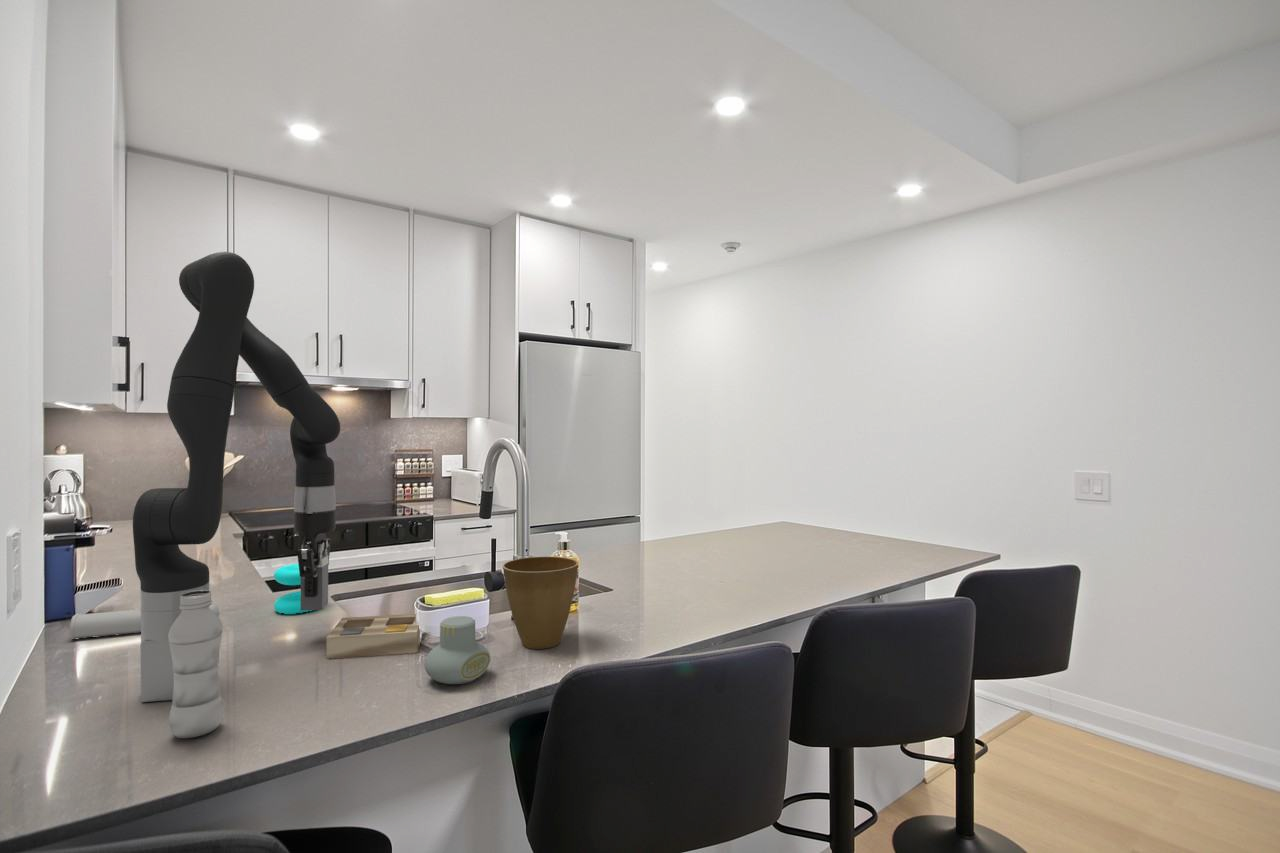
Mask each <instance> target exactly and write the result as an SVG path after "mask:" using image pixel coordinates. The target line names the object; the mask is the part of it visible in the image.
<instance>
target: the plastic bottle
mask: <svg viewBox="0 0 1280 853" xmlns="http://www.w3.org/2000/svg"><path fill="white" fill-rule="evenodd" d="M211 604H213V600H212V591H211V590H210V589H209V590H197V591H190V592H186V593H183V594H181V597H180V605H179V608H180V609H181V610H182V613H181V614H180V615H179V616H178V618H177V619H176V620H175V622H174V623H173V625H172V626H171V628H170V631H169V634H168V638H169V645H170V650H171V655H172V660H173V671H174V688H173V700H171V702H172V703H171V706H170V711H169V717H168V724H169V727H170V732H171V733H172V734H173V735H174V737H176V738H178V739H191V738H197V737H201V736H205V735H207V734H209V733H211V732H213V731H215V730H216V729H217V728H219V726H220V724H222V721H223V719H224V712H225V705H224V699H223V697H222V693H221V692H222V691H221V685H220V684H221V683H220V676H219V667H220V666H219V664H220V663H219V662H220V651H221V650H220V649H221V643H222V636H223V635H222V634H223V627H224V626H223V623H222V621H221V619H220V618H219V617H217V615H216V614H215V613H214V612H213V611H212V610H211V609H210V605H211Z"/></svg>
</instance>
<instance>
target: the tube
mask: <svg viewBox="0 0 1280 853" xmlns="http://www.w3.org/2000/svg"><path fill="white" fill-rule="evenodd" d="M210 609H211V610H212V611H213V612H214V613H215V614H216V615H217V617H218V618H219V616H220V611H219V607H218V605H217V604H214V603H212V604H211V605H210ZM140 632H141V608H140V609H130V610H128V609H127V610H117V611H106V612H105V611H104V612H94V613H84V614H83V613H82V614H81V613H80V612H79V613H76V614H74V615H73V616H71V620H70V625H69V638H70V639H71V640H72V639H76V638H84V637H93V636H105V635H115V636H117V635H116V634H125V635H128V634H127V633H135V634H141V633H140ZM105 637H106V636H105Z"/></svg>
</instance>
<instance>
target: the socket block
mask: <svg viewBox="0 0 1280 853" xmlns="http://www.w3.org/2000/svg"><path fill="white" fill-rule="evenodd" d="M416 614H417V613H407V614H404V613H403V614H391V615H385V614H384V615H374V616H373V615H372V616H371V615H370V616H369V615H368V616H351V617H342V618H341V619H340V620H339V622H337V624H336V625H335V626H334V628H333V629H332V630H331V631H330V633H329V634H328V635H327V636H326V660H330V659H329V658H331V659H342V658H357V657H372V656H374V657H375V656H386V655H387V656H388V655H402V654H403V655H404V654H416V653H418V650H419V648H420V645H421V643H420V630H419V625H417V622H416Z"/></svg>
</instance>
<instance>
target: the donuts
mask: <svg viewBox="0 0 1280 853" xmlns="http://www.w3.org/2000/svg"><path fill="white" fill-rule="evenodd" d="M273 578H274V580H275V581H276V582H277V583H278V584H281V585H285V586H299V585H300V586H301V577H300V572H299V564H298V563H292V564H287V565H284V566H281V567H278V568H277V569H276V570H275V572H274V573H273ZM273 608H274V610H275V612H277V613H278V612H279V613H278V614H281V613H284V614H283V615H297V614H296V613H301V614H304V613H303V612H306V613H309V612H308V611H310V612H313V611H312V610H301V590H300V591H294V592H290V593H285V594H283V595H282V596H279V598H277V599H276V601H274V604H273Z"/></svg>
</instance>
